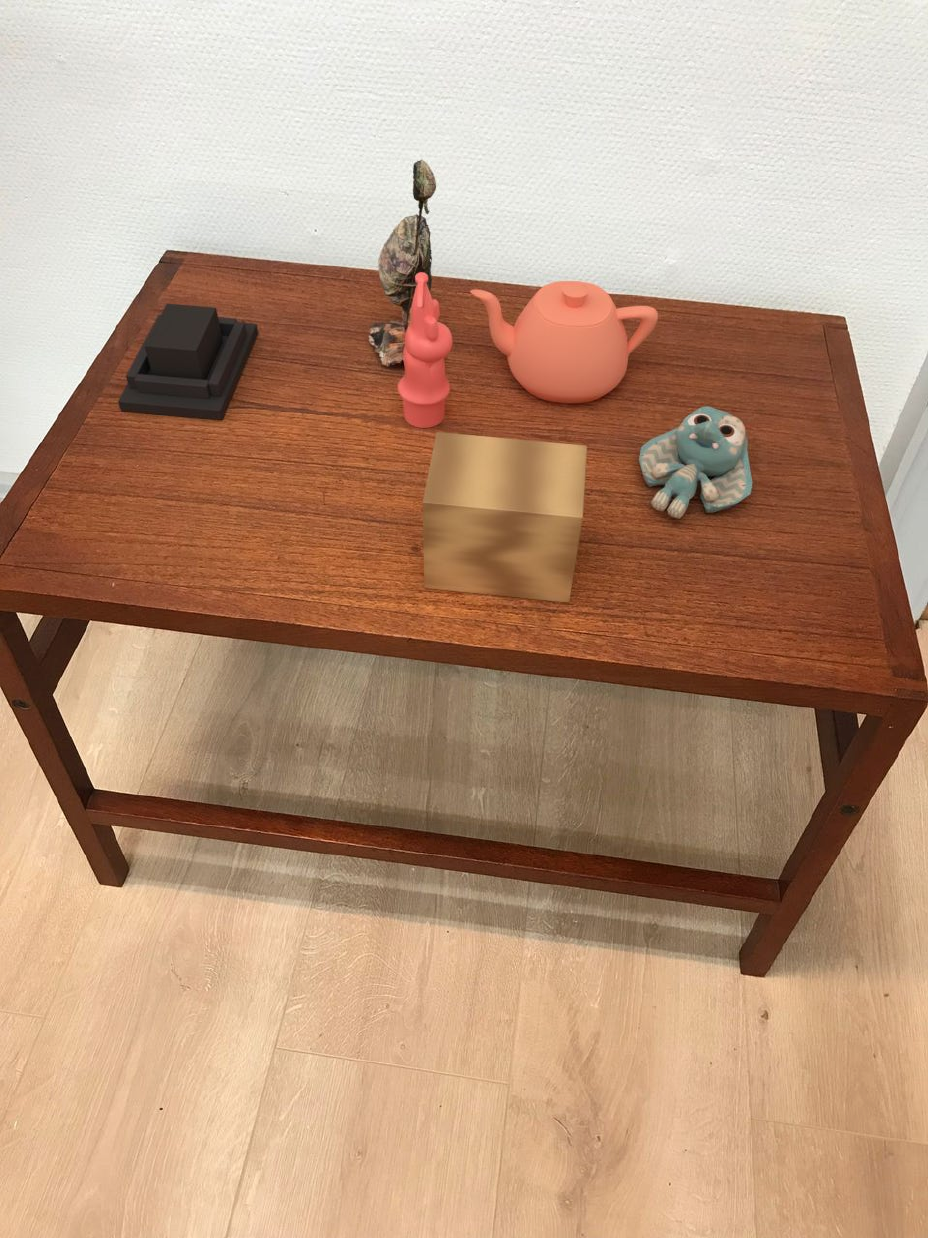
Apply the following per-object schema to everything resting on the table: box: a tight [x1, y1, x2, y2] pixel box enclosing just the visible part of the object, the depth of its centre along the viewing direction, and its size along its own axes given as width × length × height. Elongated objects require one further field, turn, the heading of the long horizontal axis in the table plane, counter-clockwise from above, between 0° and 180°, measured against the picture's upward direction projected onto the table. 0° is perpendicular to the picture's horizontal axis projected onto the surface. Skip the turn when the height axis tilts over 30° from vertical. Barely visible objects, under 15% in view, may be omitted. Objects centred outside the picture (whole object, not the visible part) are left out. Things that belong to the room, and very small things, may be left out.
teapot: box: [470, 280, 659, 404], centre depth 95 cm, size 12×18×10 cm
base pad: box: [117, 314, 259, 421], centre depth 97 cm, size 14×10×3 cm
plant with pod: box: [368, 159, 437, 367], centre depth 94 cm, size 8×11×20 cm
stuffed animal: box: [638, 406, 753, 520], centre depth 86 cm, size 11×7×12 cm
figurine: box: [397, 272, 454, 429], centre depth 88 cm, size 5×5×15 cm
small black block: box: [145, 303, 223, 380], centre depth 95 cm, size 7×5×4 cm
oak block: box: [421, 431, 588, 603], centre depth 79 cm, size 12×8×10 cm, turn 83°
